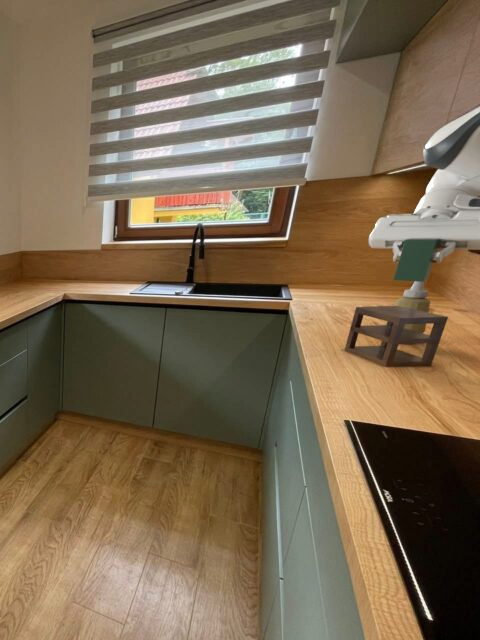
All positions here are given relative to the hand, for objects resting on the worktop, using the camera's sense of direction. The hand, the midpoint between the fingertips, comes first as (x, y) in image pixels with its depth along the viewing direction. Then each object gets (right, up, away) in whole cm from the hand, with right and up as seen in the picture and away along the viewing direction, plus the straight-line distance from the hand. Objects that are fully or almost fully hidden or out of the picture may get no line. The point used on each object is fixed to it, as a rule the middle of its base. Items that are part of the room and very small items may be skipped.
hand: (416, 260), depth 97 cm
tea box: (+1, -4, +2) cm, 4 cm away
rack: (+5, -22, +12) cm, 25 cm away
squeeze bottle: (+21, -16, +24) cm, 36 cm away
